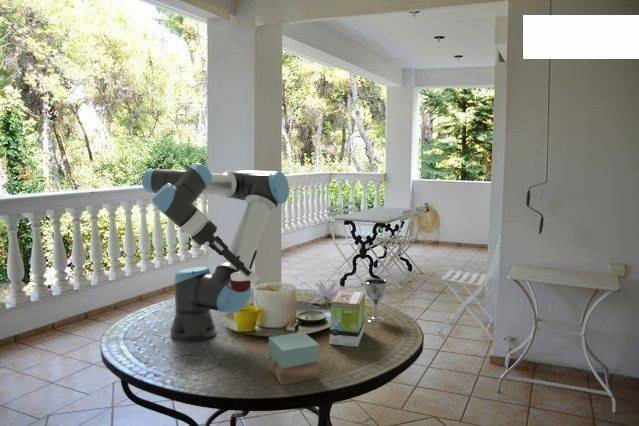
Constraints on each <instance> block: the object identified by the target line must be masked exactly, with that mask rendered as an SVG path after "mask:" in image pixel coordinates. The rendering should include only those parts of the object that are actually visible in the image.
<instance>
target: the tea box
mask: <svg viewBox="0 0 639 426" xmlns="http://www.w3.org/2000/svg"><path fill="white" fill-rule="evenodd" d="M332 298H333V300H332V301H331V302H330V325H329V344H330V345H335V346H344V347H356V348H358V347H359V345H360V342H361V339H362V337H363V334H364V331H365V330H364V328H365V309H366V306H365V304H366V303H365V302H366V293H365V292H361V291H360V292H359V291H358V292H357V291H348V290H343V291H338V292H337V294H336V295H335V296H333V297H332Z"/></svg>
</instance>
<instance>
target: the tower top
mask: <svg viewBox="0 0 639 426" xmlns="http://www.w3.org/2000/svg"><path fill="white" fill-rule="evenodd" d="M268 354H269V357H270V356H271V357H272V358H273V359H274V360H275V361H276V362H277V363H278V364H279V365H280V366H281V367H282V368H287V367H292V366H298V365H303V364H308V363H314V362H319V363H320V344H319V343H318V342H317V341H315V340H314V339H313V337H310V336H309V335H308V334H307V333H305V331H299V332H293V333H288V334H287V333H286V334H282V335H276V336H268Z"/></svg>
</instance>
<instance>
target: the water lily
mask: <svg viewBox="0 0 639 426" xmlns="http://www.w3.org/2000/svg"><path fill="white" fill-rule="evenodd" d="M336 286H337V282H336V281H334V282H333V283H331V284H329V285H328V286H327V288H326V285H324V283H320V284H319V283H318V284H317V288H318V289H314V291H313V290H311V291H308V293H309V294H311V295H313V296H315V297H316V298H314V299H313V300H312V301H311V302H310V304H316V303H319V302H322V301H323V300H325V305H326V307H327V306H328V307H329V304H328V302H329V303H331V301H332V300H333V298H334V297H335V295H336V294H337V292H338V291H344V289H342V288H339V289H337V288H336Z"/></svg>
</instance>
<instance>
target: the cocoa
mask: <svg viewBox="0 0 639 426" xmlns="http://www.w3.org/2000/svg"><path fill="white" fill-rule="evenodd" d="M257 252H258V251H257V249H256V250H255V251H254V254H253V257H252V260H251V263H250V265H249V268H250V269H251V270H252V267H253V265H254V261H255V259H256V256H257V254H258V253H257ZM228 282H231V286H232V288H231V287H229V286H228V285H227V283H228ZM226 285H227V287H228V288H230V289H232V290H234V291H236V292H245V291H247V290H248V289H249V288H250V285H252V283H251V282H250V281H249V280H248V279H247V278H246V277H245V276H244V275H243V274H242V273H241V272H239V271H238V272H234V273H232V274H231V279H230V281H227V282H226Z"/></svg>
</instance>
